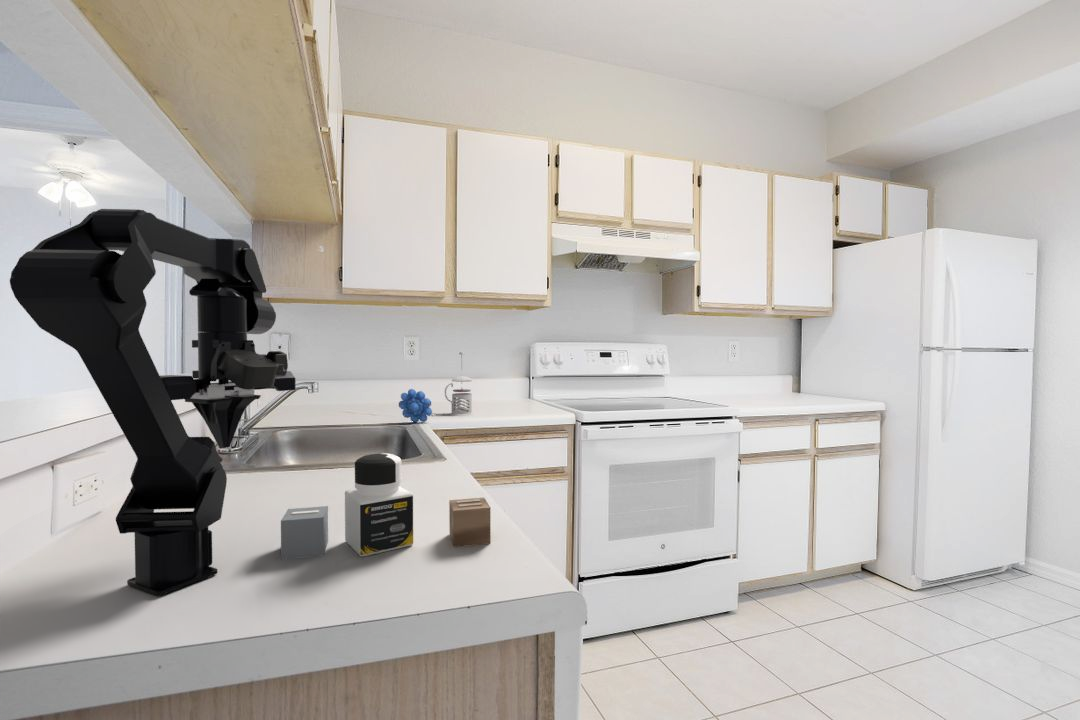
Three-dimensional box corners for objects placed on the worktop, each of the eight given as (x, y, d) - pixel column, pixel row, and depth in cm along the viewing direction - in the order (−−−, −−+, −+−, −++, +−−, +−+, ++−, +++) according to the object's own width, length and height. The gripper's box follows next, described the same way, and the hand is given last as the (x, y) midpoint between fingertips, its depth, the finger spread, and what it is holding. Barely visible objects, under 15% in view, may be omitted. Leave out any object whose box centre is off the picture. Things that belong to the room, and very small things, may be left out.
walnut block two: (490, 544, 72) (490, 506, 72) (453, 547, 70) (453, 509, 70) (484, 531, 76) (484, 496, 76) (449, 534, 75) (449, 499, 75)
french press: (472, 416, 204) (472, 351, 204) (442, 416, 204) (442, 351, 204) (476, 412, 214) (475, 351, 213) (447, 412, 214) (447, 351, 214)
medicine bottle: (360, 558, 67) (359, 463, 66) (344, 541, 72) (343, 454, 72) (414, 545, 71) (413, 456, 70) (394, 530, 77) (394, 448, 76)
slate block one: (323, 556, 68) (323, 516, 67) (281, 560, 66) (280, 519, 66) (328, 542, 72) (328, 504, 72) (288, 545, 71) (288, 507, 71)
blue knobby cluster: (396, 424, 181) (396, 390, 181) (399, 422, 188) (399, 388, 188) (430, 424, 182) (430, 389, 182) (433, 421, 189) (432, 388, 189)
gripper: (186, 329, 59) (188, 467, 60) (321, 333, 76) (322, 441, 76) (131, 331, 64) (134, 458, 65) (269, 334, 81) (271, 435, 81)
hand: (224, 447), depth 72 cm, fingers closed
